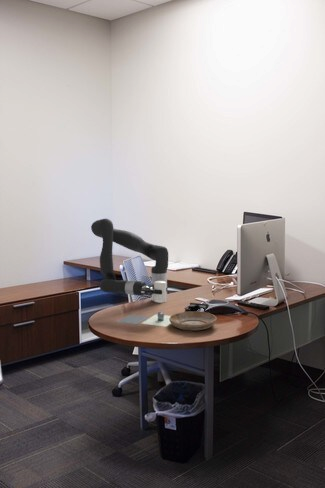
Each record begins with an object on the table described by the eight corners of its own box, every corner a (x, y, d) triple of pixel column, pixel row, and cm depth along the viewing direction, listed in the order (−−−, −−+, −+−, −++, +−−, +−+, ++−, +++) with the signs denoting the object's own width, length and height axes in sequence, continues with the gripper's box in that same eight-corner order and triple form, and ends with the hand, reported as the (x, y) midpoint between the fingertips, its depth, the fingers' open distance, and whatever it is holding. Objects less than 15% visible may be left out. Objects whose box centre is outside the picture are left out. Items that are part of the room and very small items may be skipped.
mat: (130, 314, 279) (130, 314, 279) (150, 317, 274) (150, 316, 274) (115, 323, 264) (115, 322, 264) (136, 325, 260) (136, 324, 259)
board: (155, 315, 278) (155, 314, 278) (179, 317, 272) (179, 317, 272) (141, 324, 262) (141, 323, 262) (166, 327, 256) (166, 326, 256)
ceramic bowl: (187, 317, 273) (187, 308, 272) (225, 325, 258) (225, 316, 257) (160, 328, 255) (159, 318, 255) (198, 337, 240) (198, 327, 240)
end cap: (209, 315, 277) (209, 303, 276) (205, 318, 270) (205, 306, 269) (191, 313, 281) (191, 301, 280) (187, 316, 274) (187, 304, 273)
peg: (159, 319, 269) (159, 311, 269) (164, 319, 268) (164, 312, 267) (156, 320, 266) (156, 313, 266) (162, 321, 265) (162, 313, 264)
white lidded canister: (157, 299, 269) (157, 280, 268) (167, 300, 267) (167, 281, 266) (152, 301, 264) (152, 282, 263) (163, 302, 262) (163, 283, 260)
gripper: (129, 283, 263) (158, 286, 257) (141, 278, 276) (170, 281, 270) (129, 298, 265) (158, 301, 258) (141, 292, 278) (170, 294, 271)
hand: (164, 290), depth 264 cm, fingers closed on white lidded canister, 6 cm apart
